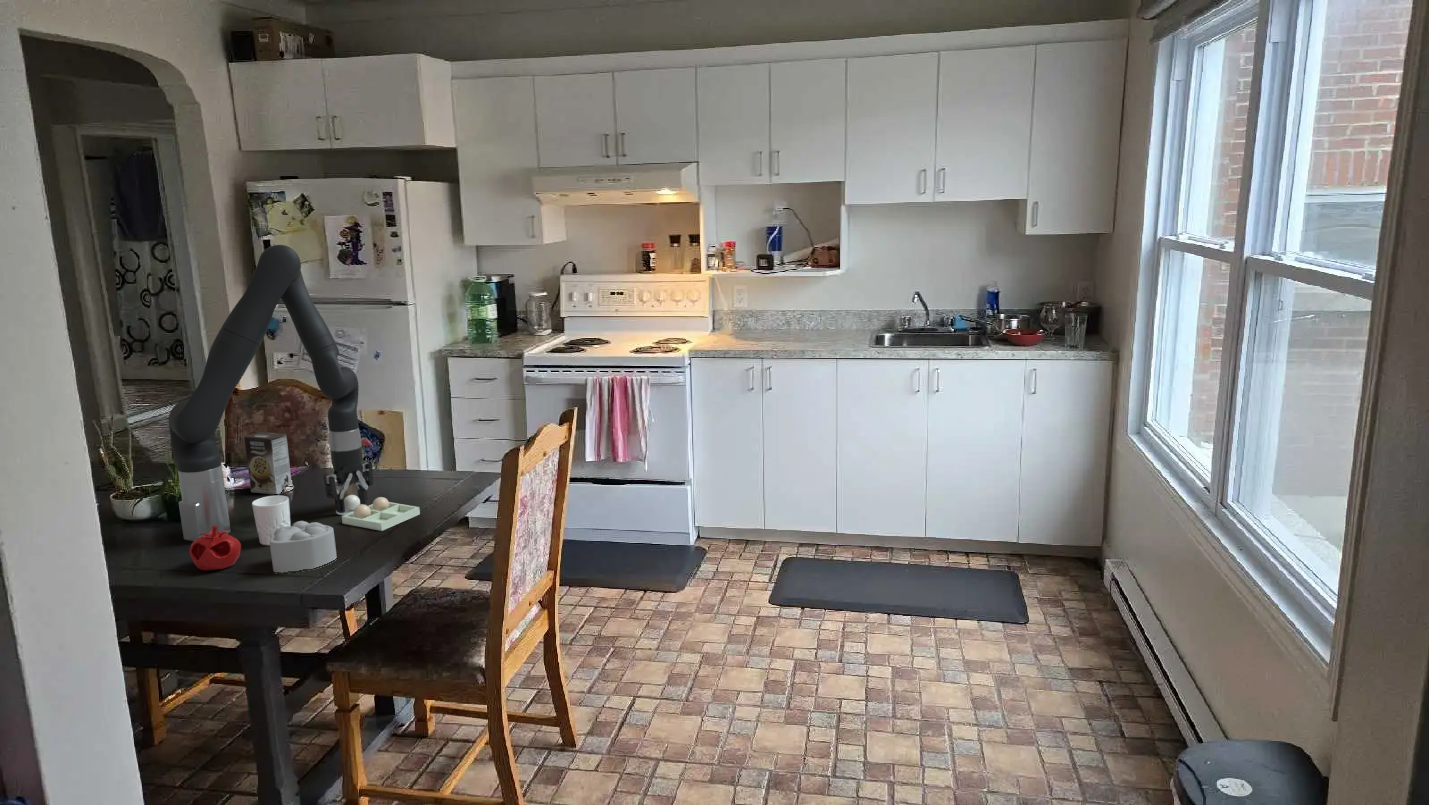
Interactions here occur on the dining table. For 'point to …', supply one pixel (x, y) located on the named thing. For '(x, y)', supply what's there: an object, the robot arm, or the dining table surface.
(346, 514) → the saucer
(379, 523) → the tray
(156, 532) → the dining table surface
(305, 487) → the dining table surface
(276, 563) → the lumpy-topped squat cylinder
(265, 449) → the coffee box
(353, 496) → the egg
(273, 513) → the white cup
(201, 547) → the red tomato lantern
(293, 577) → the dining table surface
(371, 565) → the dining table surface
